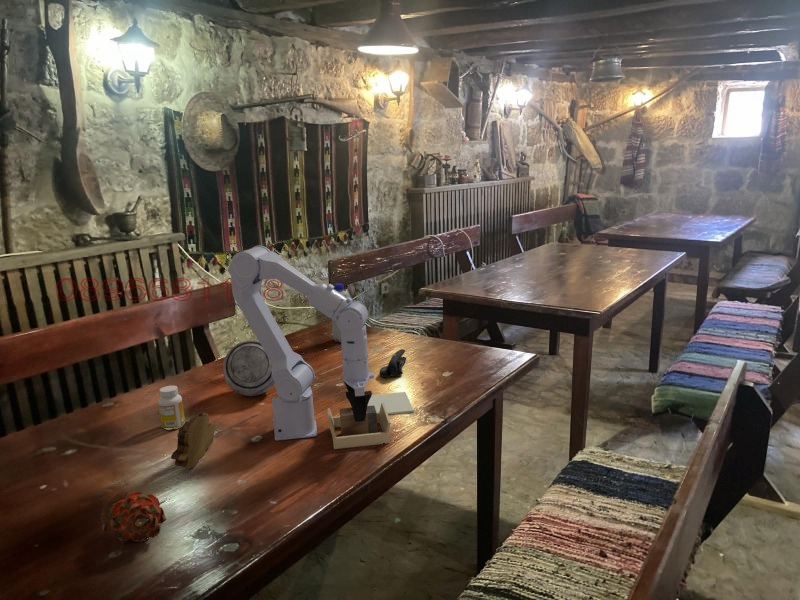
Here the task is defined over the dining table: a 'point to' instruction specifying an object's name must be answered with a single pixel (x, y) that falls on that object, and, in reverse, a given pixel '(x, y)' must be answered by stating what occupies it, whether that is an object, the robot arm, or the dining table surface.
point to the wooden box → (363, 438)
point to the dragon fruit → (136, 517)
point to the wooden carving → (193, 440)
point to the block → (358, 428)
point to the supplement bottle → (170, 407)
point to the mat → (392, 403)
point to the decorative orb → (248, 369)
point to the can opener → (394, 365)
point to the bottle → (335, 330)
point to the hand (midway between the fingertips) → (358, 413)
